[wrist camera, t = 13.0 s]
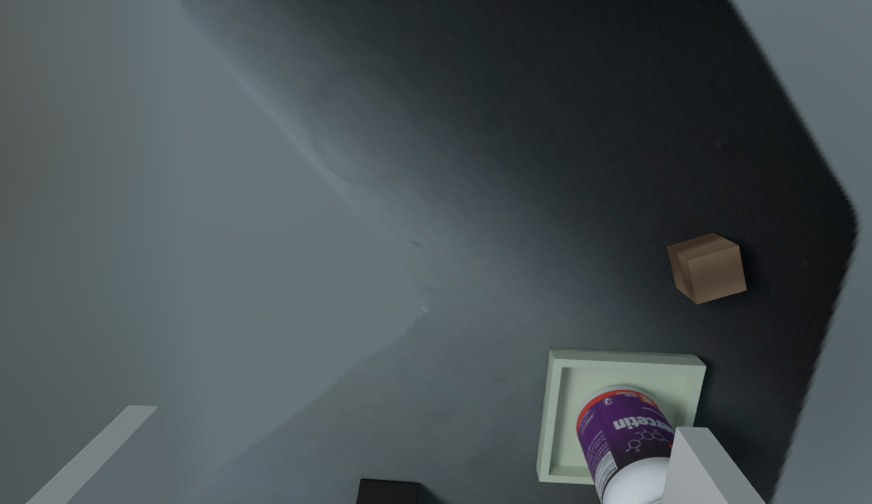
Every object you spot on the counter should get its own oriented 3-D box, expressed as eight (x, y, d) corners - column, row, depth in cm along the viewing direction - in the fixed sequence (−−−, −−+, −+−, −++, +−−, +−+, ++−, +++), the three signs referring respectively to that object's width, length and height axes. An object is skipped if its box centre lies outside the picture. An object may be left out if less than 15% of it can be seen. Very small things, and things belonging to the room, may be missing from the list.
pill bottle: (669, 391, 46) (761, 514, 33) (637, 459, 49) (710, 600, 35) (588, 371, 46) (646, 486, 32) (560, 440, 48) (603, 574, 35)
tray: (549, 347, 46) (554, 358, 44) (695, 354, 46) (706, 366, 44) (535, 466, 50) (539, 481, 48) (669, 473, 50) (678, 488, 48)
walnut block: (666, 246, 43) (687, 260, 39) (713, 232, 42) (738, 245, 39) (675, 286, 44) (696, 304, 40) (720, 273, 43) (746, 290, 40)
